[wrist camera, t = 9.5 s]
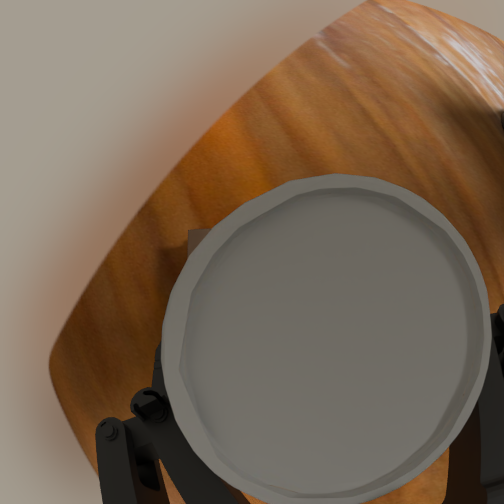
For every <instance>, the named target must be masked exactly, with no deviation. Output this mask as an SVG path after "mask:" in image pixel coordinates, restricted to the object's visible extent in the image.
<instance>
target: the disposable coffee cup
mask: <svg viewBox="0 0 504 504" xmlns="http://www.w3.org/2000/svg"><path fill="white" fill-rule="evenodd" d="M491 340H492V332H491V320H490V310H489V302H488V295H487V289H486V286H485V283H484V280H483V277H482V274H481V271H480V268H479V266H478V263H477V262H476V260H475V258H474V256H473V254H472V252H471V250H470V248H469V246H468V245H467V243H466V241H465V240H464V238H463V237H462V236H461V235H460V234H459V232H458V231H457V230H456V229H455V228H454V226H453V225H452V224H451V223H450V222H449V221H448V220H447V218H446V217H445V216H444V215H443V214H442V213H441V212H439V211H438V210H437V209H436V208H434V207H433V206H432V205H431V204H429V203H428V202H427V201H426V200H424V199H423V198H421V197H419V196H418V195H416V194H414V193H412V192H410V191H409V190H407V189H405V188H403V187H400V186H397V185H395V184H392V183H389V182H386V181H384V180H381V179H378V178H374V177H366V176H357V175H347V174H336V173H335V174H329V175H322V176H316V177H310V178H304V179H298V180H293V181H289V182H287V183H285V184H283V185H280V186H278V187H276V188H274V189H272V190H270V191H268V192H266V193H264V194H262V195H260V196H258V197H256V198H254V199H252V200H250V201H247V202H245V203H244V204H243V205H241V206H240V207H239V208H237V209H236V210H235V211H233V212H232V213H231V214H229V215H228V216H227V217H226V218H224V219H223V220H222V221H220V222H219V223H218V224H216V225H215V226H214V227H213V228H212V230H211V231H210V232H209V233H208V234H207V235H206V237H205V238H204V239H203V240H202V241H201V242H200V244H199V245H198V246H197V247H196V248H195V249H194V251H193V252H192V253H191V254H190V255H189V257H188V259H187V261H186V263H185V265H184V267H183V269H182V271H181V273H180V275H179V277H178V279H177V281H176V283H175V285H174V287H173V289H172V291H171V294H170V298H169V302H168V305H167V309H166V313H165V317H164V321H163V325H162V344H161V364H162V370H163V376H164V383H165V387H166V391H167V394H168V397H169V400H170V404H171V407H172V410H173V413H174V417H175V420H176V422H177V424H178V426H179V427H180V429H181V431H182V433H183V434H184V436H185V438H186V439H187V441H188V443H189V444H190V446H191V448H192V449H193V451H194V452H195V453H196V454H197V455H198V456H199V457H200V459H201V460H202V461H203V462H204V463H205V464H206V465H207V466H208V467H209V468H210V469H211V470H212V471H213V472H214V473H215V474H216V475H218V476H219V477H220V478H222V479H223V480H224V481H226V482H227V483H229V484H230V485H231V486H233V487H234V488H236V489H238V490H240V491H242V492H244V493H246V494H249V495H251V496H253V497H255V498H257V499H259V500H262V501H264V502H266V503H270V504H359V503H363V502H367V501H370V500H373V499H376V498H378V497H380V496H383V495H385V494H387V493H389V492H391V491H393V490H395V489H397V488H399V487H401V486H403V485H404V484H406V483H407V482H409V481H411V480H412V479H414V478H415V477H417V476H418V475H419V474H420V473H422V472H423V471H424V470H425V469H426V468H427V467H429V466H430V465H431V464H432V463H433V462H434V461H435V460H437V459H438V458H439V457H440V456H441V455H442V454H443V453H444V451H445V450H446V449H447V448H448V447H449V445H450V444H451V443H452V442H453V440H454V439H455V438H456V437H457V435H458V434H459V433H460V431H461V430H462V428H463V426H464V425H465V423H466V421H467V420H468V418H469V416H470V415H471V413H472V411H473V408H474V406H475V404H476V402H477V400H478V397H479V395H480V393H481V390H482V387H483V384H484V380H485V376H486V373H487V369H488V364H489V357H490V349H491Z"/></svg>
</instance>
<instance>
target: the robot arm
mask: <svg viewBox="0 0 504 504" xmlns="http://www.w3.org/2000/svg"><path fill="white" fill-rule="evenodd" d="M502 124H503V128H504V112H503V114H502ZM490 320H491V332H492V340H491V349H490V357H489V364H488V369H487V373H486V376H485V380H484V384H483V387H482V390H481V393H480V395H479V397H478V400H477V402H476V404H475V406H474V408H473V411H472V413H471V415H470V416H469V418H468V420H467V421H466V423H465V425H464V426H463V428H462V430H461V431H460V433H459V434H458V435H457V437H456V438H455V439H454V440H453V442H452V443H451V444H450V446H449V468H448V480H447V490H446V496H445V499H444V501H443V503H442V504H504V304H502V305H500V307H499V309H498V311H497V313H493V314H490ZM161 344H162V340H161V342H160V344H159V345H158V347H157V349H156V353H155V362H154V370H153V379H152V387H147V388H144V389H141V390H140V391H138V392H137V393H136V394H135V395H134V397H133V398H132V400H131V404H130V408H131V412H132V413H133V414H134V415H135V416H136V417H133V418H131V419H128V420H125V421H120V420H119V419H117V418H114V417H108V418H106V419H104V420H102V421H101V422H100V423H99V424H98V426H97V428H96V434H95V436H96V452H97V463H98V472H99V480H100V488H101V494H102V501H103V504H170V502H169V499H168V495H167V492H166V488H165V484H164V480H163V476H162V472H161V468H160V464H159V460H158V459H161V461H162V463H163V465H164V467H165V469H166V471H167V472H168V474H169V476H170V478H171V480H172V481H173V483H174V485H175V486H176V488H177V490H178V492H179V493H180V495H181V496H182V498H183V500H184V501H185V503H186V504H250V502H249V501H248V500H247V499H246V498H245V496H244V495H243V494H242V493H241V491H240V490H238V489H236V488H234V487H233V486H231V485H230V484H229V483H227V482H226V481H224V480H223V479H222V478H220V477H219V476H218V475H216V474H215V473H214V472H213V471H212V470H211V469H210V468H209V467H208V466H207V465H206V464H205V463H204V462H203V461H202V460H201V459H200V457H199V456H198V455H197V454H196V453H195V452H194V451H193V449H192V448H191V446H190V444H189V443H188V441H187V439H186V438H185V436H184V434H183V433H182V431H181V429H180V427H179V426H178V424H177V422H176V420H175V417H174V413H173V410H172V407H171V404H170V400H169V397H168V394H167V391H166V387H165V383H164V376H163V370H162V364H161Z"/></svg>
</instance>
